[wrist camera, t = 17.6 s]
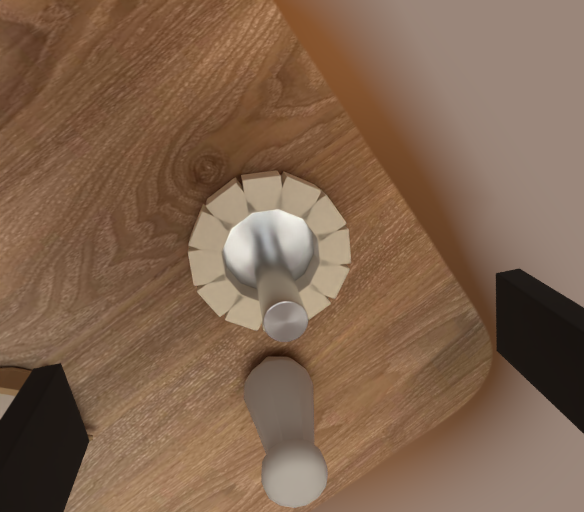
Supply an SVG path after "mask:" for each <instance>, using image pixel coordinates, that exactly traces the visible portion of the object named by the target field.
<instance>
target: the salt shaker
mask: <svg viewBox="0 0 584 512" xmlns="http://www.w3.org/2000/svg"><path fill="white" fill-rule="evenodd" d="M244 400H245V403H246V405H247V407H248V410H249V412H250V415H251V417H252V419H253V422H254V424H255V426H256V429H257V431H258V434H259V437H260V439H261V442H262V444H263V447H264V450H265V452H266V456H265V457H264V459H263V461H262V484H263V487H264V489H265V491H266V493H267V495H268V497H269V499H270V500H272V501H274V502H275V503H277V504H278V505H280V506H286V507H293V508H296V507H300V506H305V505H307V504H309V503H310V502H312V501H314V500H315V499H317V498H318V497H319V496H320V494H321V493H322V492H323V490H324V489H325V487H326V483H327V475H328V473H327V465H326V462H325V460H324V457H323V455H322V453H321V451H320V449H319V448H318V447H316V446H315V445H314V400H313V383H312V381H311V378H310V376H309V374H308V372H307V370H306V369H305V368H304V367H302V366H301V365H300V364H298V363H297V362H296V361H294V360H293V359H291V358H289V357H266V358H265V359H264V360H263V361H262V362H261V363H260V364H259V365H258V366H257V367H255V368H254V369H253V370H252V371H251V373H250V375H249V376H248V378H247V379H246V381H245V384H244Z"/></svg>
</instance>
